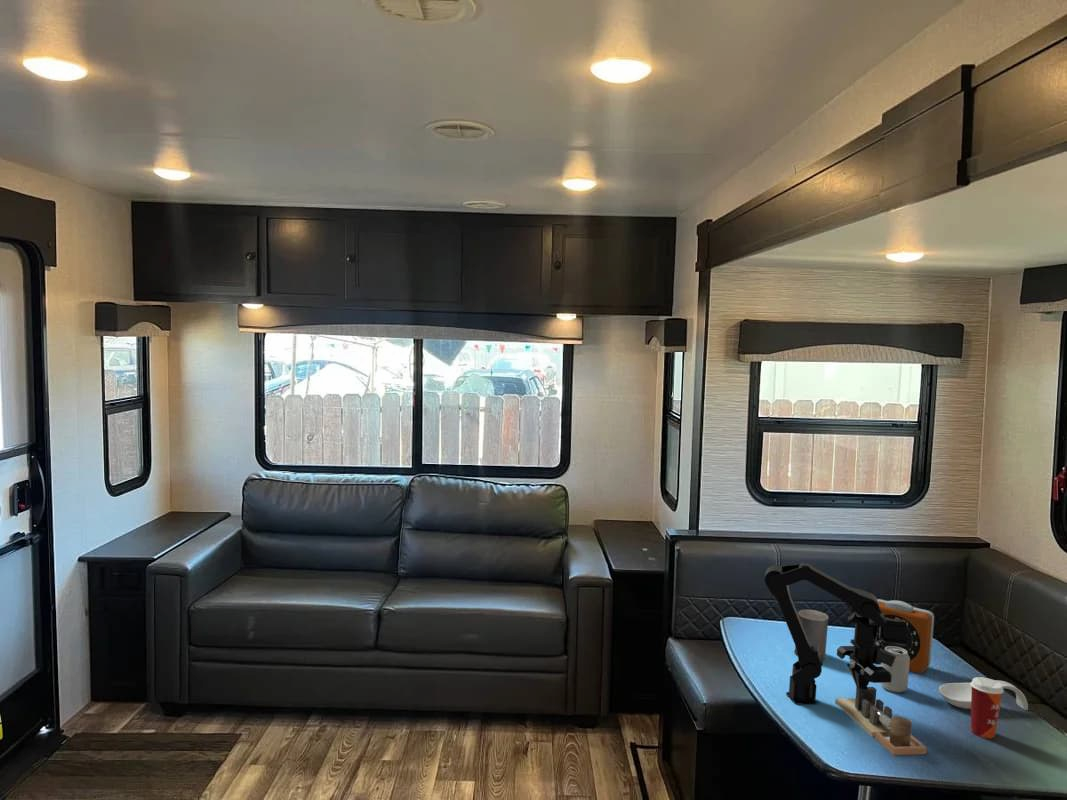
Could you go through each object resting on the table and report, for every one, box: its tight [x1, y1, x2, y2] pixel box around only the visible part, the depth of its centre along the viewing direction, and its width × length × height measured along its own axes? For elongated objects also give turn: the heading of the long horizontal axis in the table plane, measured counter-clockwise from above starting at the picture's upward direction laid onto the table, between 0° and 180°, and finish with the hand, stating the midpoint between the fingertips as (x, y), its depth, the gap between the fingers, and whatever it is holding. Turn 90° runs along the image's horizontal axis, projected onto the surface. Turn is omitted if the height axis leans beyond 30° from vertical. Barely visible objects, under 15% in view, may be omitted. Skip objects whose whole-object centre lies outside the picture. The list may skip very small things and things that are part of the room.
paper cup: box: [969, 676, 1005, 739], centre depth 208 cm, size 8×8×14 cm
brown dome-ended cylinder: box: [889, 715, 913, 747], centre depth 200 cm, size 5×5×6 cm
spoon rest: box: [938, 679, 1029, 711], centre depth 225 cm, size 24×12×7 cm, turn 89°
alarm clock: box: [869, 598, 935, 674], centre depth 252 cm, size 18×9×21 cm, turn 49°
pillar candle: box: [793, 609, 830, 660], centre depth 256 cm, size 10×10×15 cm
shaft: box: [855, 686, 891, 730], centre depth 210 cm, size 5×14×6 cm, turn 7°
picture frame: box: [875, 733, 928, 756], centre depth 199 cm, size 9×8×2 cm
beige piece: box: [834, 697, 893, 738], centre depth 214 cm, size 10×19×5 cm, turn 7°
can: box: [880, 646, 910, 694], centre depth 233 cm, size 8×8×12 cm
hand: (861, 693), depth 219 cm, fingers closed
